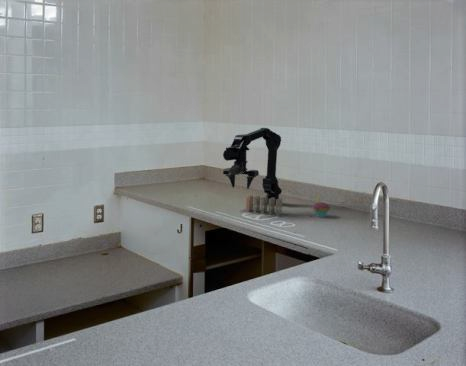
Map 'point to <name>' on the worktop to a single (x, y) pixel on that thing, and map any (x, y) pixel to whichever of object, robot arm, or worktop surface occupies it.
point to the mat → (266, 213)
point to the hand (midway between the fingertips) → (240, 188)
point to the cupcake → (321, 208)
